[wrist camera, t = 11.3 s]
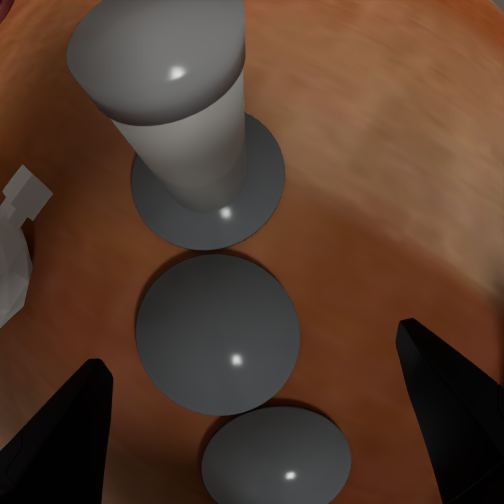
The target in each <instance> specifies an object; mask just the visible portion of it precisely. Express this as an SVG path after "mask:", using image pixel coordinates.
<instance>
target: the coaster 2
mask: <svg viewBox="0 0 504 504" xmlns="http://www.w3.org/2000/svg"><path fill="white" fill-rule="evenodd" d="M350 468H351V452H350V448H349V445H348V442H347V440H346V438H345V437H344V435H343V434H342V432H341V431H340V430H339V428H338V427H337V426H336V425H335V424H334V423H333V422H332V421H330V420H329V419H328V418H326V417H325V416H323V415H321V414H319V413H317V412H315V411H312V410H309V409H306V408H302V407H297V406H287V405H276V406H267V407H261V408H257V409H253V410H250V411H248V412H245V413H242V414H240V415H238V416H236V417H234V418H233V419H231V420H230V421H228V422H227V423H225V424H224V425H223V426H222V427H221V428H220V429H219V430H218V431H217V432H216V433H215V434H214V435H213V437H212V438H211V440H210V441H209V443H208V445H207V447H206V449H205V453H204V456H203V459H202V477H203V481H204V484H205V486H206V489H207V490H208V492H209V494H210V495H211V496H212V498H213V499H214V500H215V501H216V502H217V503H218V504H328V503H329V502H330V501H331V500H333V499H334V498H335V497H336V495H337V494H338V493H339V492H340V491H341V489H342V488H343V486H344V485H345V483H346V480H347V478H348V476H349V472H350Z"/></svg>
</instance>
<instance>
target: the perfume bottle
mask: <svg viewBox="0 0 504 504" xmlns="http://www.w3.org/2000/svg"><path fill="white" fill-rule="evenodd" d="M2 192H3V193H4V195H5V196H6V198H5V200H4V201H3V202H2V204H1V205H0V328H1V327H2V326H3V325H4V324H5V323H6V322H7V321H8V320H9V319H10V318H11V317H13V316H14V315H15V314H16V313H17V312H18V311H19V310H20V309H21V308H22V307H23V306H24V303H25V298H26V294H27V289H28V285H29V281H30V277H31V273H32V269H33V266H32V262H31V259H30V255H29V251H28V247H27V242H26V239H25V237H24V234H23V231H22V229H21V226H22V224H23V223H24V221H25V220H26V219H27V217H28V218H29V219H31V220H32V221H33V220H34V219H35V218H36V216H37V215H38V213H39V212H40V211H41V209H42V208H43V207H44V205H45V204H46V203H47V201H48V200H49V199H50V197H51V196H52V195H53V193H52V192H51V191H50V190H49V189H48V188H47V187H46V186H45V185H44V184H43V183H42V182H41V181H40V180H39V179H38V178H37V177H36V176H35V175H33V174H32V173H31V172H30V171H29V170H28V169H27V168H26V167H25V166H24V165H23V164H22V165H21V167H20V168H19V169H18V171H17V172H16V173H15V174H14V176H13V177H12V178H11V180H10V181H9V182H8V184H7V185H6V187H5V188H4V189H3V191H2Z"/></svg>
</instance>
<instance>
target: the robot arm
mask: <svg viewBox="0 0 504 504" xmlns="http://www.w3.org/2000/svg"><path fill="white" fill-rule="evenodd" d="M396 348H397V352H398V355H399V359H400V363H401V367H402V371H403V375H404V379H405V383H406V387H407V391H408V394H409V397H410V400H411V403H412V406H413V408H414V411H415V414H416V417H417V420H418V423H419V426H420V429H421V432H422V435H423V438H424V441H425V444H426V447H427V450H428V454H429V457H430V460H431V463H432V467H433V470H434V474H435V477H436V481H437V484H438V488H439V492H440V495H441V499H442V503H443V504H504V388H503V387H502V386H501V385H500V384H498V383H497V382H496V381H495V380H493V379H492V378H491V377H490V376H488V375H487V374H486V373H485V372H483V371H482V370H481V369H480V368H478V367H477V366H476V365H475V364H473V363H472V362H471V361H469V360H468V359H467V358H466V357H464V356H463V355H462V354H460V353H459V352H458V351H457V350H455V349H454V348H453V347H451V346H450V345H449V344H447V343H446V342H445V341H444V340H442V339H441V338H440V337H438V336H437V335H436V334H434V333H433V332H432V331H430V330H429V329H428V328H426V327H425V326H424V325H422V324H421V323H420V322H418V321H417V320H416V319H414V318H409V319H404V320H401V321H400V322H399V325H398V330H397V336H396ZM112 393H113V376H112V374H111V372H110V371H109V369H108V368H107V367H106V365H105V364H104V362H103V361H102V360H101V359H98V358H96V359H88V360H87V361H86V362H85V363H84V364H83V365H82V366H81V367H80V368H79V369H78V370H77V371H76V372H75V373H74V374H73V375H72V376H71V377H70V378H69V379H68V380H67V381H66V382H65V383H64V385H63V386H62V387H61V388H60V389H59V390H58V391H57V392H56V393H55V394H54V395H53V396H52V397H51V398H50V399H49V400H48V401H47V402H46V403H45V404H44V405H43V406H42V408H41V409H40V410H39V411H38V412H37V413H36V414H35V415H34V416H33V417H32V418H31V419H30V420H29V421H28V422H27V424H26V425H25V426H24V427H23V429H21V430H20V431H19V432H18V433H17V434H16V435H15V436H14V438H13V439H12V440H11V441H10V442H9V443H8V444H7V445H6V446H5V447H4V448H3V449H2V450H1V451H0V504H101V501H102V489H103V478H104V469H105V460H106V452H107V445H108V437H109V430H110V423H111V409H112Z"/></svg>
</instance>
